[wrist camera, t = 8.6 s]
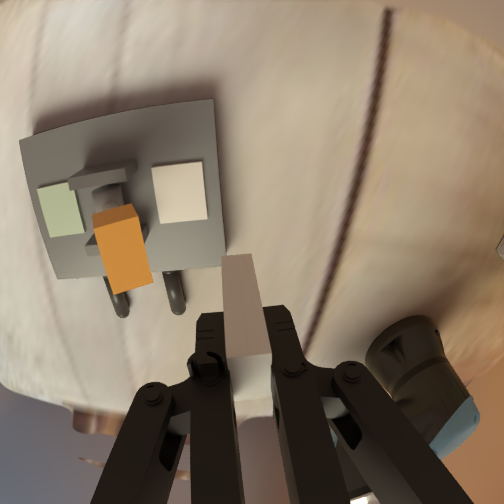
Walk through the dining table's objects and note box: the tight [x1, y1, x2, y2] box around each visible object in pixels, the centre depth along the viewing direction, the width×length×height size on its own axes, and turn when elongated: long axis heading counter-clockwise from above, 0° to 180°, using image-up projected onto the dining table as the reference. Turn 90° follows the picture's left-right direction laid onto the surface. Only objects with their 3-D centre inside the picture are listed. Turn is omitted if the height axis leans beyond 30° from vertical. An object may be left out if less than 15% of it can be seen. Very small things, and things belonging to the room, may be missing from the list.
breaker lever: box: [92, 184, 153, 295], centre depth 24 cm, size 3×5×13 cm, turn 2°
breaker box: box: [19, 99, 226, 318], centre depth 31 cm, size 22×26×7 cm
